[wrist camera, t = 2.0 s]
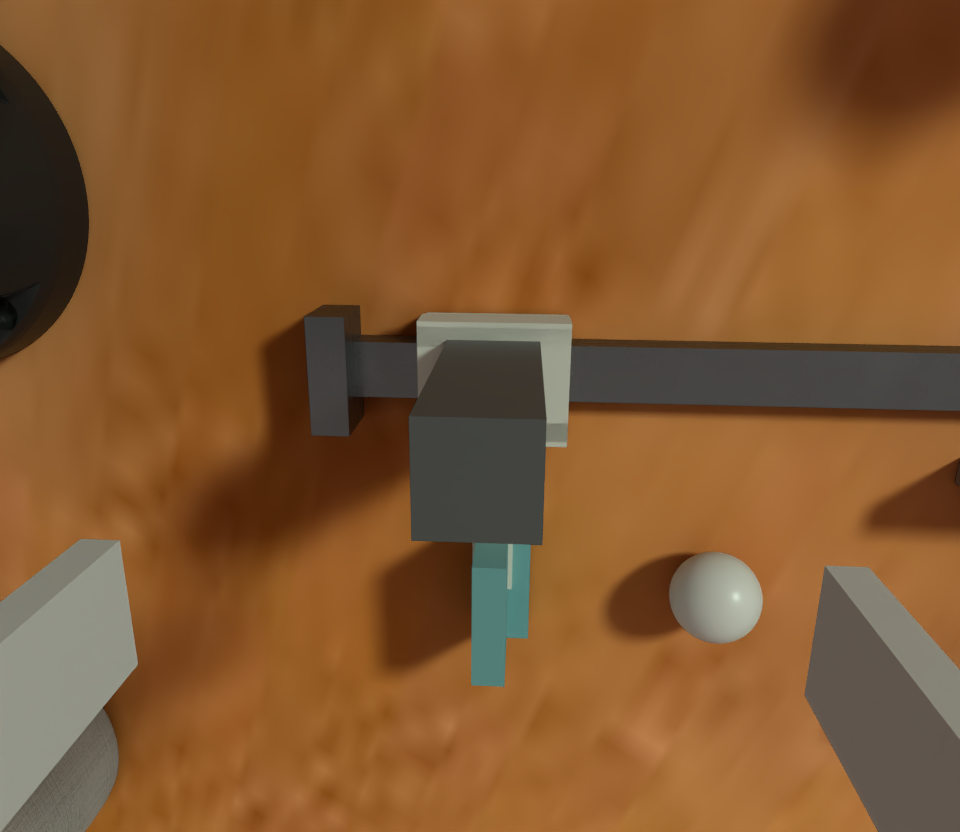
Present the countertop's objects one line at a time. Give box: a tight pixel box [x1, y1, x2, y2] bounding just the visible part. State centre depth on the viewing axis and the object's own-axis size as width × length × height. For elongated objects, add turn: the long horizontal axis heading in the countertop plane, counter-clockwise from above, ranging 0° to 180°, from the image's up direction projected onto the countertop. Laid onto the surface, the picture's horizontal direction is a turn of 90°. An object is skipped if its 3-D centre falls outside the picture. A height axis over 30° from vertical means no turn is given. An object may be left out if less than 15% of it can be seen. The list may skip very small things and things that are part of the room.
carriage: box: [409, 312, 572, 687], centre depth 28 cm, size 6×15×13 cm, turn 0°
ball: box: [669, 552, 763, 644], centre depth 34 cm, size 4×4×4 cm
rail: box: [304, 305, 960, 436], centre depth 31 cm, size 33×5×3 cm, turn 90°
